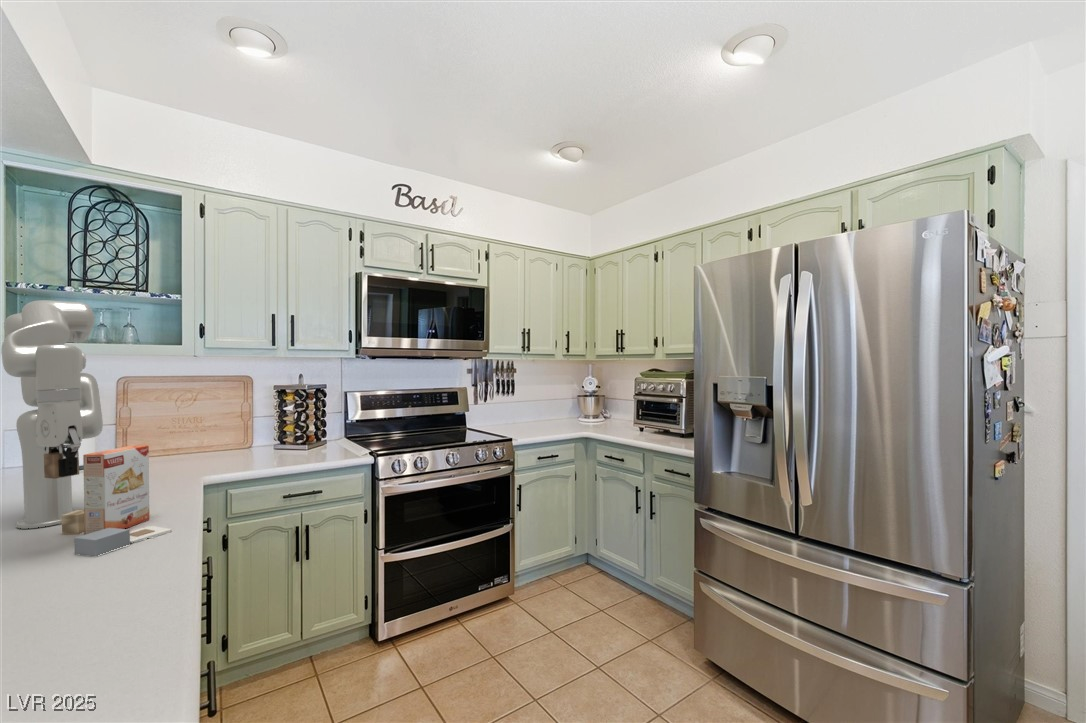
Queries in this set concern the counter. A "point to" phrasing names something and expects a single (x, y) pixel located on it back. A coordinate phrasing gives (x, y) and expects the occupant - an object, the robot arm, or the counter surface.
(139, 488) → the cracker box
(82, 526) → the maple block
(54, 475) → the walnut block
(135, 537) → the tile
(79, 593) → the counter surface
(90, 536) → the base block
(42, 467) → the robot arm
